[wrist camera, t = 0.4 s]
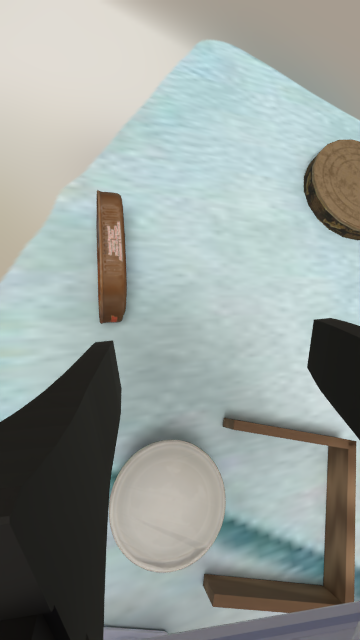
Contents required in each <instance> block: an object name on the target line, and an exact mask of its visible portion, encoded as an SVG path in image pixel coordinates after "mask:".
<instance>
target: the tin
mask: <svg viewBox="0 0 360 640" xmlns="http://www.w3.org/2000/svg"><path fill="white" fill-rule="evenodd" d="M97 263H98V300H99V318H100V323H101V324H102V323H106V322H120V321H122V319H123V315H124V313H125V309H126V295H127V282H126V254H125V233H124V218H123V205H122V199H121V196H120V195H119V194H117V193H110V192H100V191H98V190H97Z"/></svg>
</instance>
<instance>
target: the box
mask: <svg viewBox="0 0 360 640" xmlns="http://www.w3.org/2000/svg"><path fill="white" fill-rule="evenodd" d="M223 427H226V428H230V429H233V430H239V431H245V432H251V433H257V434H263V435H268V436H274V437H280V438H286V439H292V440H298V441H304V442H310V443H315V444H321V445H327V446H328V473H327V500H326V528H325V555H324V583H323V586H322V585H312V584H301V583H291V582H281V581H271V580H260V579H250V578H240V577H230V576H219V575H209V574H204V581H203V586H204V588H205V591H206V593H207V595H208V597H209V599H210V601H211V604H212V606H213V607H223V608H235V609H247V610H260V611H272V612H284V613H293V612H299V611H305V610H310V609H316V608H322V607H327V606H333V605H339V604H345V603H350V602H354V567H355V493H356V441H352V440H347V439H341V438H336V437H330V436H324V435H319V434H313V433H307V432H302V431H296V430H290V429H285V428H279V427H273V426H267V425H262V424H256V423H250V422H245V421H239V420H233V419H228V418H224V422H223Z"/></svg>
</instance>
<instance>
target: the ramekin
mask: <svg viewBox="0 0 360 640" xmlns="http://www.w3.org/2000/svg"><path fill="white" fill-rule="evenodd" d="M225 504H226V501H225V489H224V484H223V480H222V477H221V474H220V472H219V470H218V468H217V466H216V465H215V463H214V462H213V460H212V459H211V458H210V456H209V455H208V454H206V453H205V452H204V451H203V450H201V449H200V448H198V447H197V446H195V445H193V444H191V443H188V442H185V441H181V440H162V441H158V442H155V443H152V444H150V445H147V446H145V447H144V448H142V449H141V450H139V451H138V452H136V453H135V454H134V455H133V456H132V457H131V458H130V459H129V460H128V461H127V462H126V463H125V465H124V466H123V467H122V469H121V470H120V472H119V474H118V476H117V478H116V480H115V482H114V485H113V488H112V492H111V496H110V501H109V521H110V527H111V531H112V534H113V537H114V539H115V542H116V543H117V545H118V547H119V548H120V550H121V551H122V553H123V554H124V555H125V556H126V557H127V558H128V559H129V560H130V561H131V562H133V563H134V564H136V565H137V566H139V567H141V568H143V569H146V570H149V571H153V572H160V573H166V572H173V571H177V570H180V569H183V568H185V567H187V566H189V565H191V564H193V563H194V562H196V561H197V560H199V559H200V558H201V557H202V556H203V555H204V554H205V553H206V552H207V551H208V549H209V548H210V547H211V545H212V544H213V542H214V541H215V539H216V537H217V535H218V533H219V531H220V529H221V526H222V522H223V519H224V514H225Z"/></svg>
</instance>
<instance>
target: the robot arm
mask: <svg viewBox="0 0 360 640" xmlns="http://www.w3.org/2000/svg"><path fill="white" fill-rule="evenodd" d="M307 368H308V370H309V372H310V373H311V375H312V377H313V379H314V381H315V382H316V384H317V386H318V387H319V389H320V390H321V392H322V393H323V394H324V396H325V397H326V398H327V400H328V401H329V402H330V403H331V405H332V406H333V407H334V408H335V410H336V411H337V412H338V413H339V415H340V416H341V417H342V418H343V420H344V421H345V422H346V423H347V425H348V426H349V427H350V428H351V430H352V431H353V432H354V433H355V435H356V436H357V437H358V438H359V440H360V326H358V325H355V324H352V323H348V322H345V321H341V320H337V319H332V318H327V319H317V320H314V323H313V330H312V337H311V344H310V352H309V359H308V366H307ZM120 415H121V384H120V378H119V372H118V366H117V361H116V355H115V349H114V343H113V341H104V342H95V343H94V344H93V345H92V346H91V347H90V348H89V349H88V350H87V351H86V352H85V353H84V354H83V355H82V356H81V357H80V358H79V359H78V360H77V361H76V362H75V363H74V364H73V365H72V366H71V367H70V368H69V369H68V370H67V371H66V372H65V373H64V374H63V375H62V376H61V377H60V378H58V379H57V380H56V381H55V382H54V383H53V384H52V385H51V386H49V387H48V388H47V389H46V390H45V391H44V392H42V393H41V394H40V395H39V396H37V397H36V398H35V399H34V400H32V401H31V402H29V403H28V404H27V405H25V406H24V407H23V408H21V409H20V410H18V411H17V412H15V413H14V414H12V415H11V416H9V417H8V418H6V419H4V420H3V421H1V422H0V640H360V601H356V602H350V603H345V604H339V605H333V606H327V607H322V608H316V609H310V610H305V611H299V612H293V613H288V614H282V615H276V616H271V617H265V618H259V619H253V620H248V621H242V622H236V623H231V624H225V625H219V626H214V627H208V628H202V629H197V630H191V631H185V632H179V633H174V634H167V632H165V631H155V630H141V629H126V628H112V627H104V594H105V566H106V543H107V522H108V505H109V488H110V479H111V471H112V465H113V459H114V453H115V447H116V441H117V434H118V428H119V422H120Z"/></svg>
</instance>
